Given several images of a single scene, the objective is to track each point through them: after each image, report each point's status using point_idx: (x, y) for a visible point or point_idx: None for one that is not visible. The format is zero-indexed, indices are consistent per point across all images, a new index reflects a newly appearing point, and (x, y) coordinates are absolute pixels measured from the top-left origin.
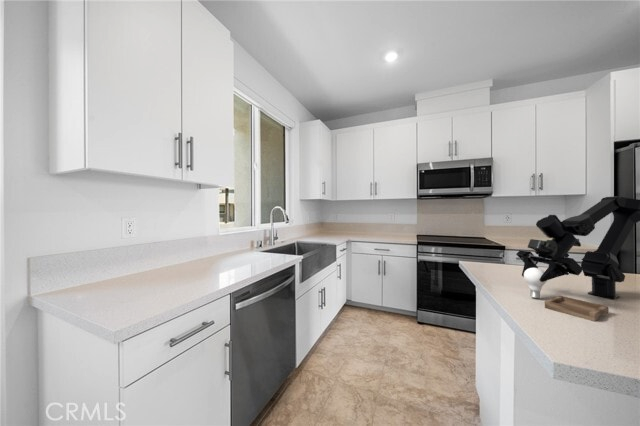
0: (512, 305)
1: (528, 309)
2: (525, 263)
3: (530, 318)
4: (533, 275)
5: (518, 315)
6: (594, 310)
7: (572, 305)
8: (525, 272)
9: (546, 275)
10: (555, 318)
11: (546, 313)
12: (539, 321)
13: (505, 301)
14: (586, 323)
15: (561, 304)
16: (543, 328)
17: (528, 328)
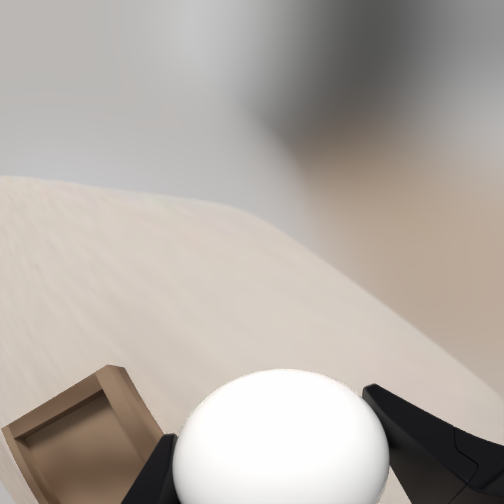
0: (155, 235)
1: (109, 275)
2: (492, 456)
3: (48, 226)
4: (199, 406)
5: (71, 203)
6: (26, 467)
7: (124, 495)
8: (302, 378)
9: (136, 492)
10: (35, 311)
11: (70, 318)
12: (30, 239)
13: (208, 233)
14: (7, 381)
15: (67, 405)
16: (7, 221)
17: (17, 187)
